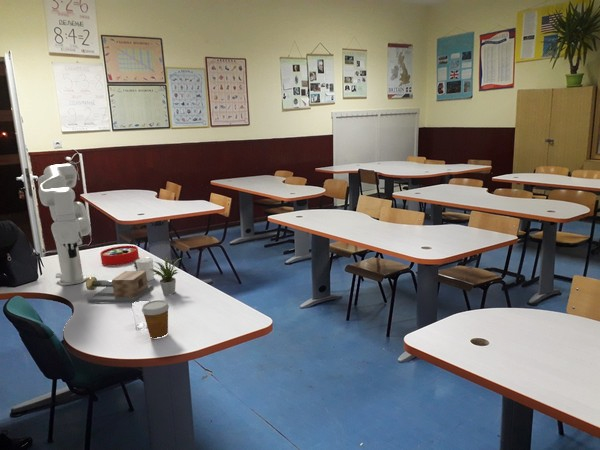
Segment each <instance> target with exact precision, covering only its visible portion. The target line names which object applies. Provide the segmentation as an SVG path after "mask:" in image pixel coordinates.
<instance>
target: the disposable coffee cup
mask: <svg viewBox="0 0 600 450" xmlns="http://www.w3.org/2000/svg"><path fill="white" fill-rule="evenodd" d="M169 308H170V305H169V303H168V301H166V300H161V299H156V300H151V301H148V302H146V303H144V304H143V305H142V309H141V312H142V314H143V317H144V320H145V323H146V327H147V330H148V334H149V337H152V338H157V337H162V336H164V335H166V334H167V333H168V334H169ZM152 338H151V339H152Z"/></svg>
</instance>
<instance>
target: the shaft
mask: <svg viewBox="0 0 600 450" xmlns="http://www.w3.org/2000/svg"><path fill="white" fill-rule="evenodd" d="M112 280H113V279H106V280H105V279H104V280H103V279H97V277H95V276H89V277H87V279H86V280H85V288H86V289H87V291H95V290H96V289H97V288H101V287H102V288H106V287H113V284H112Z"/></svg>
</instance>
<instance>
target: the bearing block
mask: <svg viewBox="0 0 600 450" xmlns="http://www.w3.org/2000/svg"><path fill="white" fill-rule="evenodd" d="M111 280H112V284H113V291H114V297H136V296H137V295H139V294H140V293H141V292H142V291H144V290H145V289H146V288H148V285H149V284H148V281H147V277H146V271H138V270H124V271H123V272H121V273H120V274H119V275H117V276H115V277H114V278H113V279H111Z"/></svg>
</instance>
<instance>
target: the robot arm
mask: <svg viewBox="0 0 600 450" xmlns="http://www.w3.org/2000/svg"><path fill="white" fill-rule="evenodd" d="M77 181H78V171H77V168H76V167H75V165H73V164H70V163H62V164H53V165H48V166H46V167H45V169H43V175H40V176H39V177H38V179H37V186H38V196H39V200H40V202H41V205H43V206H45V207H49V211H50V212H49V213H50V216H51V218H52V220H53V221H54V222H53V223H52V224H51V225H50V227H51V228H50V230H51V233H52V236H53V240H54V242H55V246H56V251H57V257H58V262H59V268H60V272H57V273H56V274H55V278H56V279H59V283H58V284H59V285H61V286H72V285H78V284H80V283H83V282H86V280H87V278H88V277H87V276H86V275H85V274H83V267H82V263H81V262H82V260H81V256H80V255H81V254H80V248H79V246H81V245H83V237H84V236H88V235H90V234H91V232H92V227H91V222H90V218H89V215H88V211H87V209H86V207H85V204H84V203H82V202H81V201H75V199H76V194H75V191H74V190H73V188H75V187H76V185H77Z"/></svg>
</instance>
